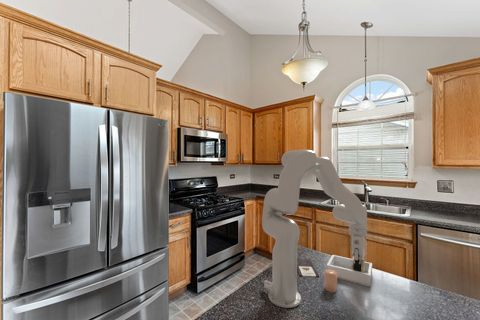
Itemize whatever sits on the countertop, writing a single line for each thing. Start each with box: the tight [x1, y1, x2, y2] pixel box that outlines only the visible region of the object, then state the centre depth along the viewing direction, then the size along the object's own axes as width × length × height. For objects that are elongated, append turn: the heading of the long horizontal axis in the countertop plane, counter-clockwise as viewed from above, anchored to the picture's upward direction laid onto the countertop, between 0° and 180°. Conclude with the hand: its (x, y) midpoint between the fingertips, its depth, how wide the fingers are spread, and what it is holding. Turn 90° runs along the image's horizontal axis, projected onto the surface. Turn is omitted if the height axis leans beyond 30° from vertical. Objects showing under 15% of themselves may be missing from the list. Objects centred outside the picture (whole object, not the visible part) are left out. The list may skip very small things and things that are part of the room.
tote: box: [326, 254, 373, 288], centre depth 108 cm, size 18×14×5 cm
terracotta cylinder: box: [324, 269, 338, 293], centre depth 96 cm, size 5×5×7 cm
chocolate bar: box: [297, 258, 320, 278], centre depth 115 cm, size 9×1×18 cm
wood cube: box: [351, 256, 366, 273], centre depth 106 cm, size 5×5×5 cm
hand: (357, 268), depth 106 cm, fingers closed on wood cube, 4 cm apart
